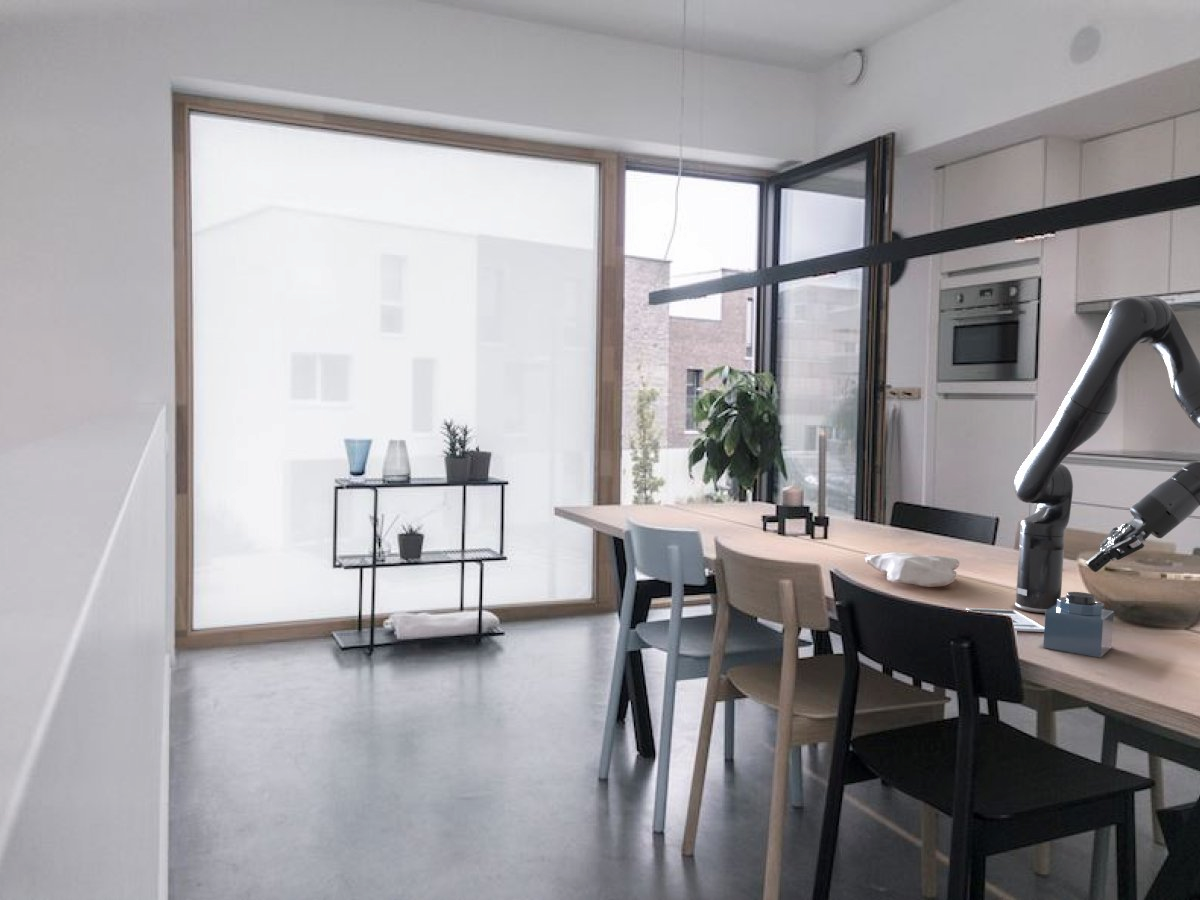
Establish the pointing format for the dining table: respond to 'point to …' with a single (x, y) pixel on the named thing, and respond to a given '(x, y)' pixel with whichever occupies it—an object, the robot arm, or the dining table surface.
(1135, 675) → the dining table surface
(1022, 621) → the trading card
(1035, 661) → the dining table surface
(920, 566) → the rock
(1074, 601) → the button
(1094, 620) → the blue-grey box with cap
